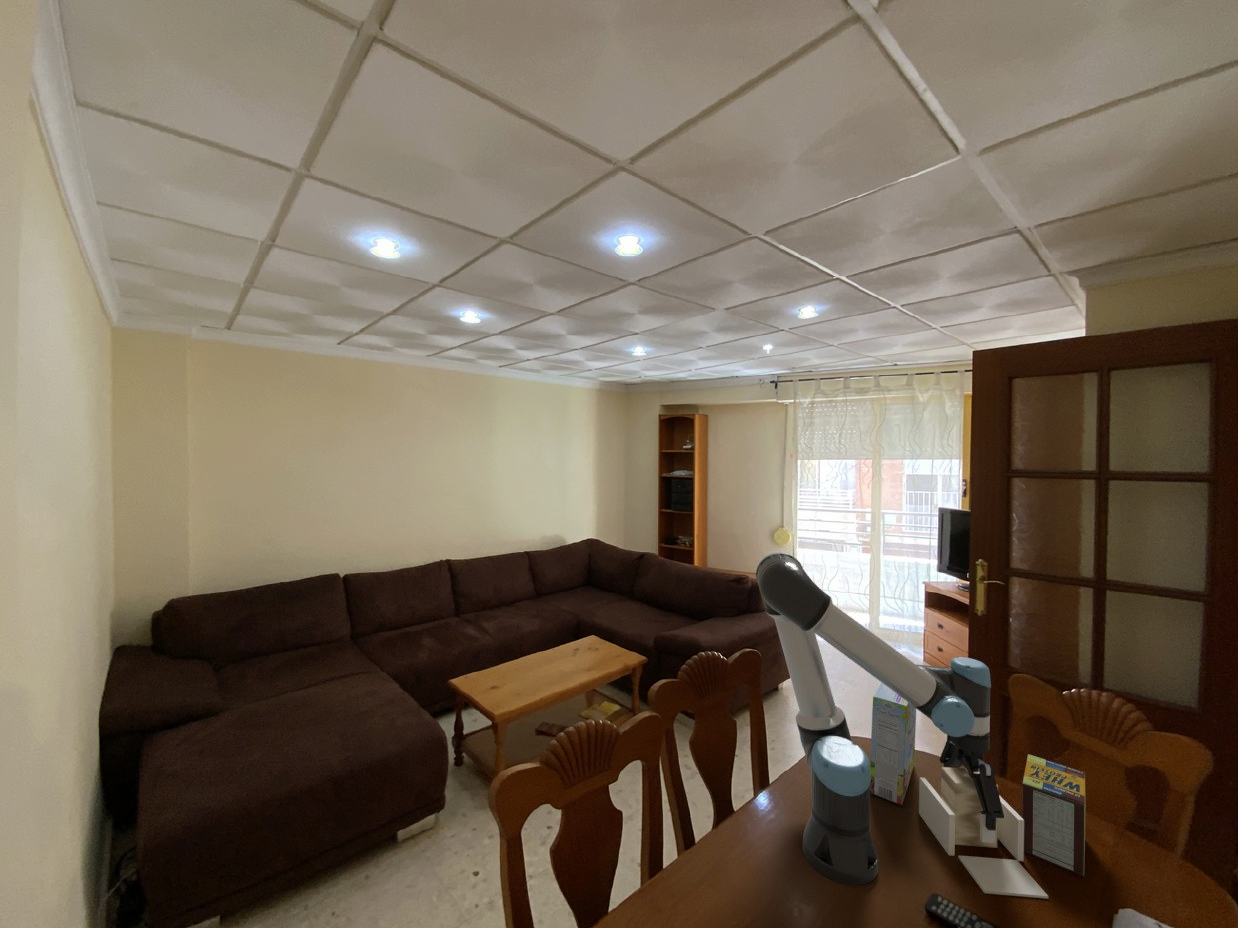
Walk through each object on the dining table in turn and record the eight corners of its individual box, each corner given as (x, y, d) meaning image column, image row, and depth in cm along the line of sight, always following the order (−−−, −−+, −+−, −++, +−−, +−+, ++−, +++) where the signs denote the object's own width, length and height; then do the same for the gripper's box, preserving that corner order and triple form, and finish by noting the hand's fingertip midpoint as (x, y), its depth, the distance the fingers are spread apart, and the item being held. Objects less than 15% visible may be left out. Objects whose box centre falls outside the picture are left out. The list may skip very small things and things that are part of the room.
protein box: (1084, 837, 115) (1085, 771, 115) (1084, 878, 104) (1085, 804, 104) (1026, 815, 123) (1027, 752, 123) (1020, 850, 111) (1021, 781, 111)
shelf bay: (948, 854, 110) (949, 814, 110) (918, 813, 123) (919, 777, 123) (1023, 861, 108) (1024, 819, 108) (985, 818, 121) (985, 781, 121)
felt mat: (984, 892, 100) (984, 890, 100) (958, 857, 109) (958, 855, 109) (1048, 898, 99) (1048, 895, 99) (1016, 862, 108) (1016, 859, 108)
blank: (954, 844, 113) (955, 782, 113) (940, 825, 119) (941, 766, 119) (997, 847, 112) (998, 785, 112) (980, 828, 118) (981, 769, 118)
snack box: (906, 808, 125) (907, 706, 124) (867, 794, 130) (869, 696, 130) (917, 766, 142) (918, 676, 142) (883, 755, 147) (884, 668, 147)
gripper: (1025, 761, 103) (1024, 863, 103) (955, 702, 127) (954, 785, 128) (986, 758, 103) (985, 860, 104) (924, 701, 128) (924, 783, 128)
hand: (968, 819), depth 116 cm, fingers open, 13 cm apart
